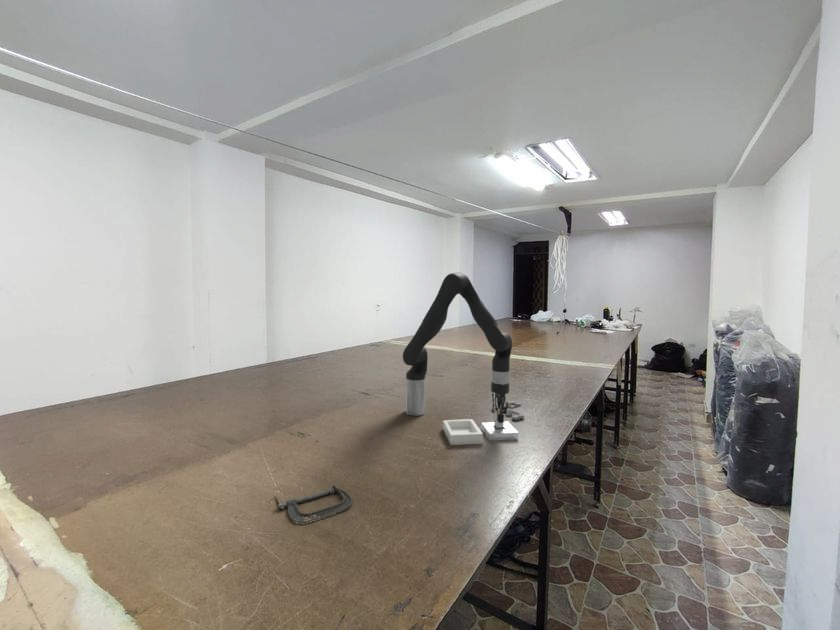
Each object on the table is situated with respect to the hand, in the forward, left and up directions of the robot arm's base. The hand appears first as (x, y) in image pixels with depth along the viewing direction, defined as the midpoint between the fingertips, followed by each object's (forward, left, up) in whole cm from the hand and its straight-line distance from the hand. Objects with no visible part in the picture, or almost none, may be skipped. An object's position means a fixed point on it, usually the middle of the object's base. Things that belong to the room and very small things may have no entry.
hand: (499, 420), depth 159 cm
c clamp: (-70, -42, -7) cm, 82 cm away
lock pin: (0, 0, -4) cm, 4 cm away
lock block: (0, 0, -6) cm, 6 cm away
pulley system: (+14, +27, -7) cm, 31 cm away
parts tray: (-16, 0, -6) cm, 17 cm away
